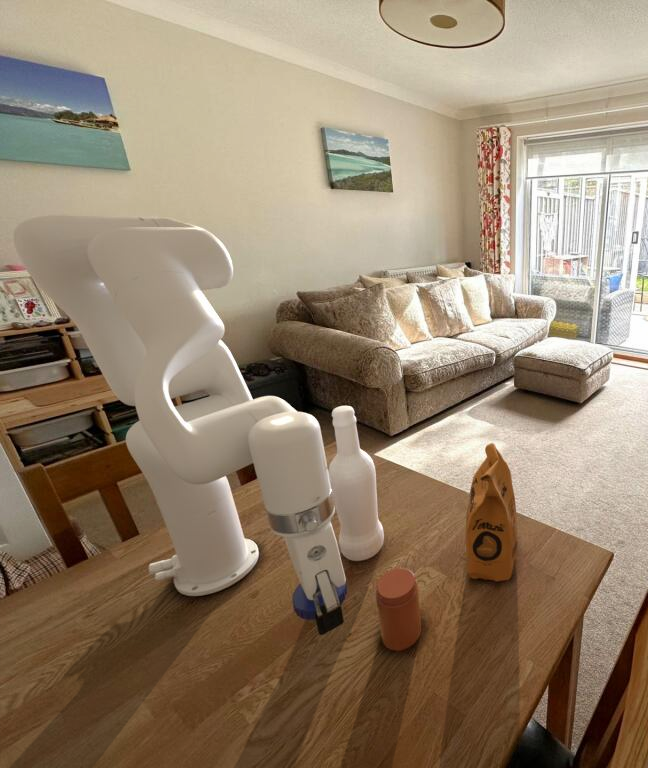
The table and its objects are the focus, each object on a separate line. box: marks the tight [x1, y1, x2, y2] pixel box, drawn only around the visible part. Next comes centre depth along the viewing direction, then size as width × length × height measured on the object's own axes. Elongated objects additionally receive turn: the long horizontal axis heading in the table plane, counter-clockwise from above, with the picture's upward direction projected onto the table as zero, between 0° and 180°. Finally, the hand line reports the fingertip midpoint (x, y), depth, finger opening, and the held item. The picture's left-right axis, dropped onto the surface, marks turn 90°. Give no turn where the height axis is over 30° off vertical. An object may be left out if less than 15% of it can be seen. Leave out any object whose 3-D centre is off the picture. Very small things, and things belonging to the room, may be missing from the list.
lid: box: [291, 582, 348, 621], centre depth 57 cm, size 7×7×2 cm
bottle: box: [328, 405, 385, 562], centre depth 73 cm, size 8×8×30 cm
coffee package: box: [464, 442, 518, 583], centre depth 73 cm, size 10×12×22 cm
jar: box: [375, 567, 422, 652], centre depth 61 cm, size 6×6×10 cm
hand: (323, 608), depth 58 cm, fingers closed on lid, 6 cm apart
